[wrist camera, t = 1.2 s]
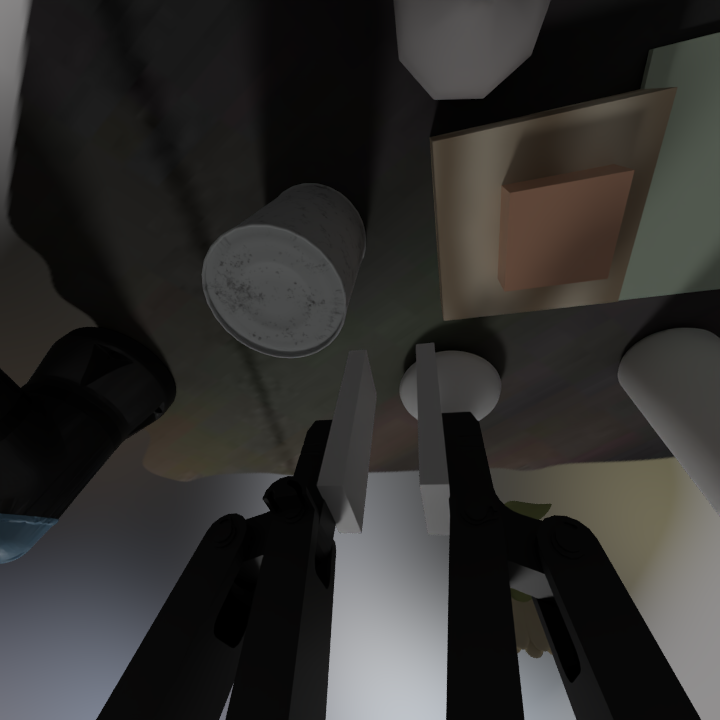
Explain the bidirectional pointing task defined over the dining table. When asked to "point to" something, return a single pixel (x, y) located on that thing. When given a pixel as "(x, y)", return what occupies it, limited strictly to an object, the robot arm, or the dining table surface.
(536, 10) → the potion bottle
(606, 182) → the terracotta tile
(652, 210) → the rubber mat
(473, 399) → the flower in vase
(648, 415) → the alcohol
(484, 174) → the birch board
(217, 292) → the white cylinder
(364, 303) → the dining table surface
